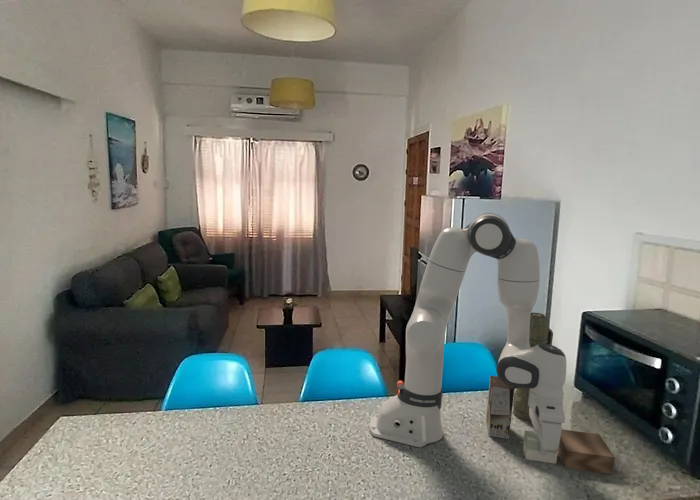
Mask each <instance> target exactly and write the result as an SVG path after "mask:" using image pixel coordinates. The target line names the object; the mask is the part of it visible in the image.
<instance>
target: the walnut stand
mask: <svg viewBox="0 0 700 500" xmlns="http://www.w3.org/2000/svg"><path fill="white" fill-rule="evenodd" d="M557 454H558V455H559V457H560V460H561V461H562V464H563V466H564V468H565V469H572V470H580V471H587V472H592V473H593V472H594V473H599V474H600V473H602V474H606V475H607V474H608V475H613V471H614V465H615V464H614V463H615V456H614V454H613V452H612V450H610V448H609V446H608V445H607V444H606V442H605V440H604V438H603V437H602V436H601V435H600V434H599V433H594V432H593V433H592V432H585V431H578V430H570V429H562V430H561V437H560V442H559V447H558V452H557Z"/></svg>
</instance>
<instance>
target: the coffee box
mask: <svg viewBox="0 0 700 500" xmlns="http://www.w3.org/2000/svg"><path fill="white" fill-rule="evenodd" d="M488 384H489V385H488V395H487V406H486V407H487V409H486V417H485V418H486V421H485V424H486V429H487V430H486V431H487V435H488V437H495V438H501V439H505V440H506V439H507V440H509V439H510V433H511V425H512V424H511V423H512V414H513V401H514V393H515V388H513V387H509V386H507V385H505V384H504V383H502V382H501V380H500V379H499V378H498V375H489V383H488Z"/></svg>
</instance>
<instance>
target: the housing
mask: <svg viewBox="0 0 700 500" xmlns="http://www.w3.org/2000/svg"><path fill="white" fill-rule="evenodd" d="M522 444H523V445H522V451H523V455H524V457H525V460H529V461H535V462H536V461H537V462H543V463H550V464H557V461H558V460H557V459H558V449H557V450H556V451H549V450H547V455H546V456H543V455H540V452H539V446H540V445H541V443H540V440H539V438H538V436H537V433H536V432H534V430H524V436H523V443H522Z"/></svg>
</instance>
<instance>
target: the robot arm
mask: <svg viewBox="0 0 700 500" xmlns="http://www.w3.org/2000/svg"><path fill="white" fill-rule="evenodd" d="M476 252H477V253H479V254H481V255H483V256H487V257H489V258H494V259H496V261H497V291H498V298H499V302H500V303H501V304H502V305H503V306H504V308H505V309H506V314H507V337H506V338H507V339H506V342H505V343H504V345H503V347H502V349H501V352H500V356H499V358H498V361H497V364H496V370H495V372H496V376H498V378H499V379H500V380H501V382H502V383H504V384H505V385H507V386H509V387H513V388H514V389H517V388H525V389H530V390H529V399H528V406H529V416H530V419H531V421H532V422H531V423H532V426H533V431H534V432H536V433H537V436H538V438H539V440H540V443H541V445H540V446H539V452H540V455H543V456H546V455H547V450H549V451H556V450H557V449H558V447H559V442H560V437H561V430H562V428H563V427H562V426H563V425H562V424H565V422H566V416H565V415H566V414H565V412H564V395H565V393H564V385H565V383H566V379H567V377H566V376H567V358H566V355H565V352H563V350H562V349H560V348H559V347H557V346H555V345H553V344H552V345H550V344H547V342H546V343H545V344H544V343H540V344H538V345H536V346H534V347H532V346H531V344H530V315H531V313H532V312H533V309H534V307H535V306H536V304H537V301H538V296H539V290H540V289H539V288H540V280H541V279H540V278H541V277H540V276H541V275H540V274H541V272H540V270H541V269H540V268H541V267H540V259H539V251H538V247H537V245H536V244H535V243H534V242H532V241H530V240H529V239H526V238H519V237H518V238H517V237H514V235H513V232H512V231H511V229H510V226H509V224H508V221H507V220H506V219H504V217H502V216H501V215H500V214H498V213H497V214H496V213H494V212H486V213H482V214H480V215H478V216H477V217H475V218H474V219H473V220H472V221H471V222H470V223H469V224H468V225H467V226H465V228H460V227H455V226H454V227H447V228H444V229H443V230H442V231H441V232H440V233H439V234H438V237H436V241H435V242H434V245H433V247H432V248H431V252H430V255H429V257H428V260H427V264H426V267H425V269H424V273H423V276H422V280H421V283H420V285H419V286H420V287H419V290H418V294H417V297H416V301H415V304H414V307H413V311H412V313H411V315H410V318H409V320H408V322H407V324H406V328H405V373H404V381H403V380H398V381H397V383H396V387H397V391H396V395H394V396H392V397H390V398H388V399H386V400H384V401H383V402H382V404H381V405H380V407H379V409H378V412H377V413H375V414H374V415H372V417H371V419H370V422H369V429H368V430H369V432H370V434H371V435H372V436H373V437H375V438H380V439H384V440H388V441H392V442H395V443H400V444H404V445H408V446H412V447H417V448H423V447H425V446H426V445H427V444H432V443H436V442H438V441H440V440H441V439H442V438H443V436H444V431H443V426H442V418H441V409H442V406H443V388H442V385H443V384H442V381H443V369H444V355H445V353H444V351H445V350H444V349H445V340H446V339H445V338H446V332H447V326H448V323H449V320H450V316H451V314H452V311H453V309H454V305H455V303H456V300H457V298H458V295H459V292H460V290H461V286H462V283H463V280H464V277H465V274H466V271H467V268H468V265H469V262H470V260H471V258H472V256H473V255H474V254H475V253H476Z"/></svg>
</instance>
